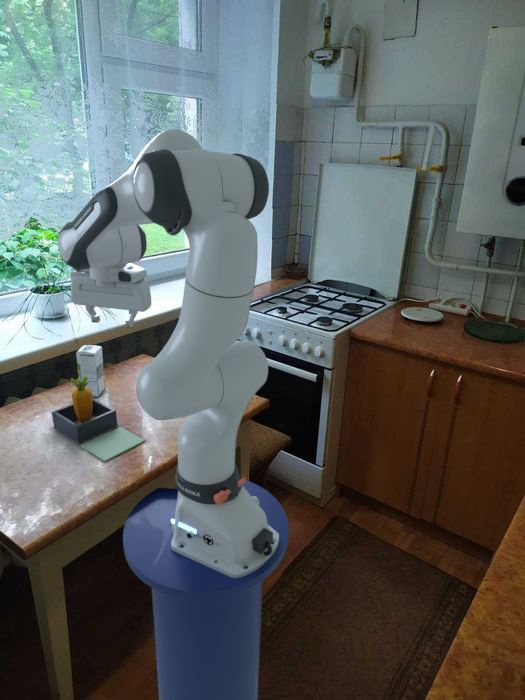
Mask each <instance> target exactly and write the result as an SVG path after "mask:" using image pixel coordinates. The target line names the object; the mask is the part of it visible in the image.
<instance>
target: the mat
mask: <svg viewBox="0 0 525 700" xmlns="http://www.w3.org/2000/svg"><path fill="white" fill-rule="evenodd" d="M144 442H146V441H145V439H144V438H142V437H140V436H139V435H137V434H135V433H133V432H131V431H129V430H128V429H127V428H125V427H122V426H119V427H116V428H114V429H111V430H109V431H107V433H106V432H105V433H103V434H101V435H99V436H96V437H94V438H92V439H90V440H88V441H86V442H84V443H83V444H82V443H81V445H80V448H82V449H84V450H86V451H87V452H88V453H90V454H92V455H93V456H95V457H96V458H98V459H100V460H101V461H103V462H104V463H105V462H107V461H110V460H112V459H113V458H115V457H118V456H120V455H121V454H123V453H125V452H127V451H129V450H132V449H133V448H135V447H136V446H139V445H141V444H143V443H144Z"/></svg>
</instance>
